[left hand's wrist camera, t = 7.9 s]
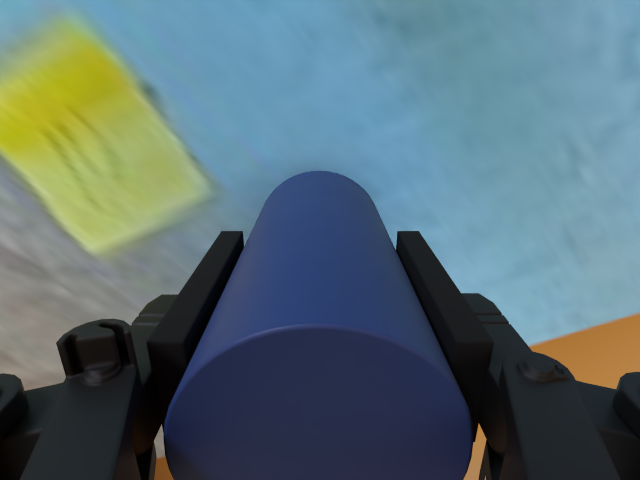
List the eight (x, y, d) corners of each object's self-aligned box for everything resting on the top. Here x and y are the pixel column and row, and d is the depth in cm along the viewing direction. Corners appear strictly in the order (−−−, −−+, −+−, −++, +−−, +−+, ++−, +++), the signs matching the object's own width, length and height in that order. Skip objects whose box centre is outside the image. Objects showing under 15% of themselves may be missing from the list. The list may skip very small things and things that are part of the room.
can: (400, 199, 18) (537, 392, 6) (348, 299, 19) (387, 581, 8) (285, 150, 17) (217, 273, 6) (242, 259, 19) (129, 512, 8)
